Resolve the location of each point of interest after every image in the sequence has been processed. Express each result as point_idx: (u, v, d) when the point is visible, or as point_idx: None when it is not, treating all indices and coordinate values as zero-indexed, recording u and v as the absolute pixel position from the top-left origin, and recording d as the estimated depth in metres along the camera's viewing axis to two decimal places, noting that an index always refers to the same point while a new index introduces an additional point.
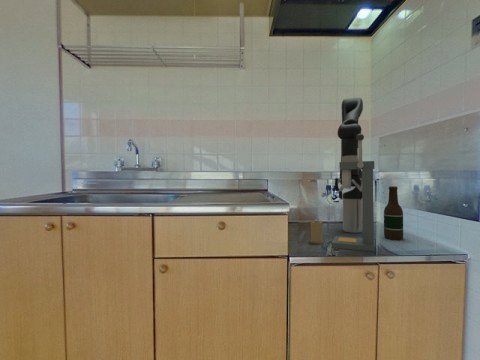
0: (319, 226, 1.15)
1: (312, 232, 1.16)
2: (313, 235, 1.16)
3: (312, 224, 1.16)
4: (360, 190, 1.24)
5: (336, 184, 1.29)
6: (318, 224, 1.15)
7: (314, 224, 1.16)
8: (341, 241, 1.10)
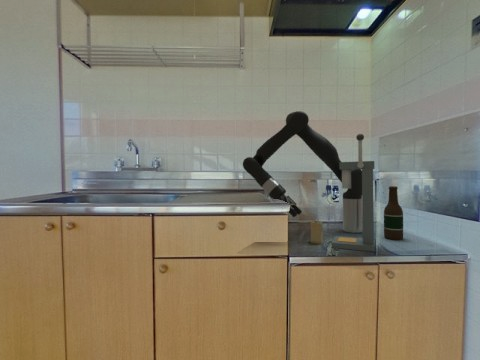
0: (319, 226, 1.15)
1: (312, 232, 1.16)
2: (313, 235, 1.16)
3: (312, 224, 1.16)
4: None
5: None
6: (318, 224, 1.15)
7: (314, 224, 1.16)
8: (341, 241, 1.10)
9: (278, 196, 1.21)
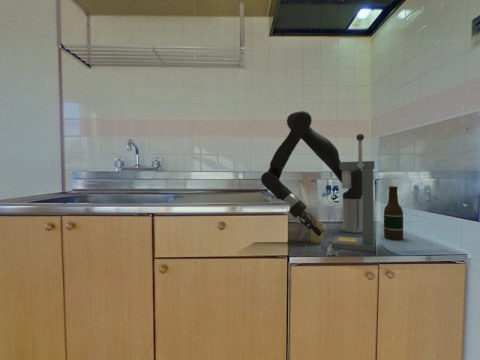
0: (319, 226, 1.15)
1: (312, 232, 1.16)
2: (313, 235, 1.16)
3: None
4: (311, 228, 1.16)
5: None
6: (318, 224, 1.15)
7: (314, 224, 1.16)
8: (341, 241, 1.10)
9: (299, 213, 1.17)
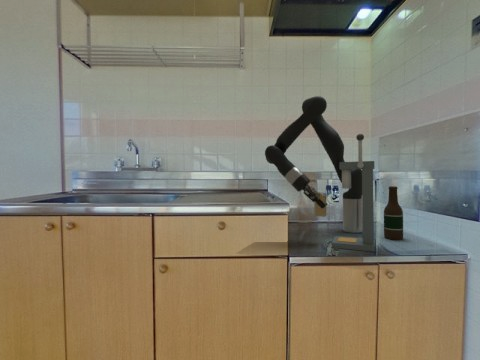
0: (323, 198, 1.14)
1: (316, 205, 1.15)
2: (317, 208, 1.15)
3: None
4: (314, 201, 1.15)
5: None
6: (322, 196, 1.14)
7: None
8: (341, 241, 1.10)
9: (303, 186, 1.16)
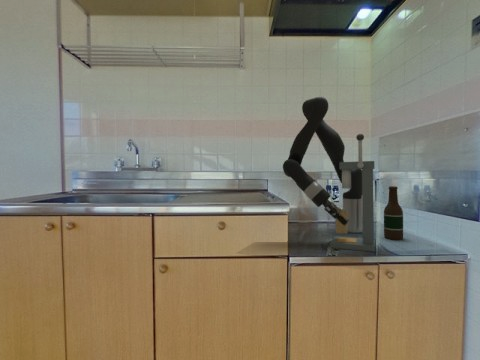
0: (345, 215, 1.10)
1: (337, 221, 1.12)
2: (338, 225, 1.12)
3: None
4: None
5: None
6: (344, 213, 1.11)
7: None
8: (341, 241, 1.10)
9: (323, 201, 1.13)
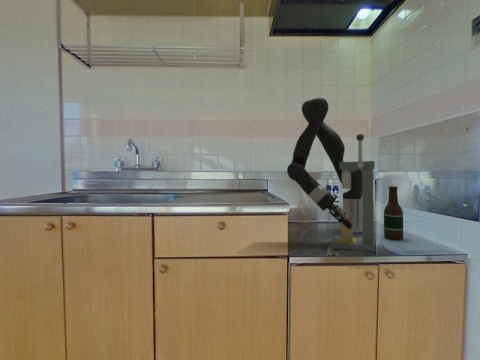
0: (350, 222, 1.10)
1: (342, 229, 1.11)
2: (343, 232, 1.11)
3: None
4: (340, 221, 1.10)
5: None
6: (349, 220, 1.10)
7: None
8: (341, 241, 1.10)
9: (329, 205, 1.12)
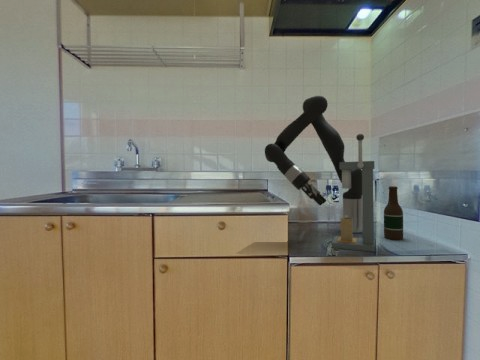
0: (350, 222, 1.10)
1: (342, 229, 1.11)
2: (343, 232, 1.11)
3: (342, 220, 1.11)
4: (312, 198, 1.14)
5: None
6: (349, 220, 1.10)
7: (344, 220, 1.10)
8: (341, 241, 1.10)
9: (302, 184, 1.16)
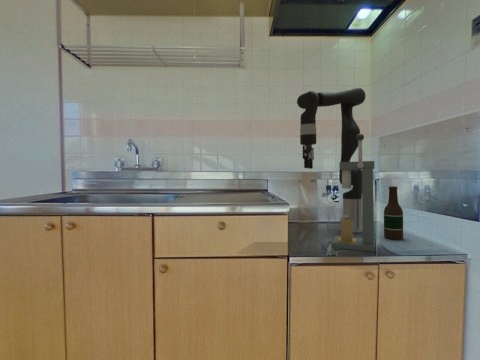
0: (350, 222, 1.10)
1: (342, 229, 1.11)
2: (343, 232, 1.11)
3: (342, 220, 1.11)
4: (304, 159, 1.24)
5: None
6: (349, 220, 1.10)
7: (344, 220, 1.10)
8: (341, 241, 1.10)
9: (307, 143, 1.24)
